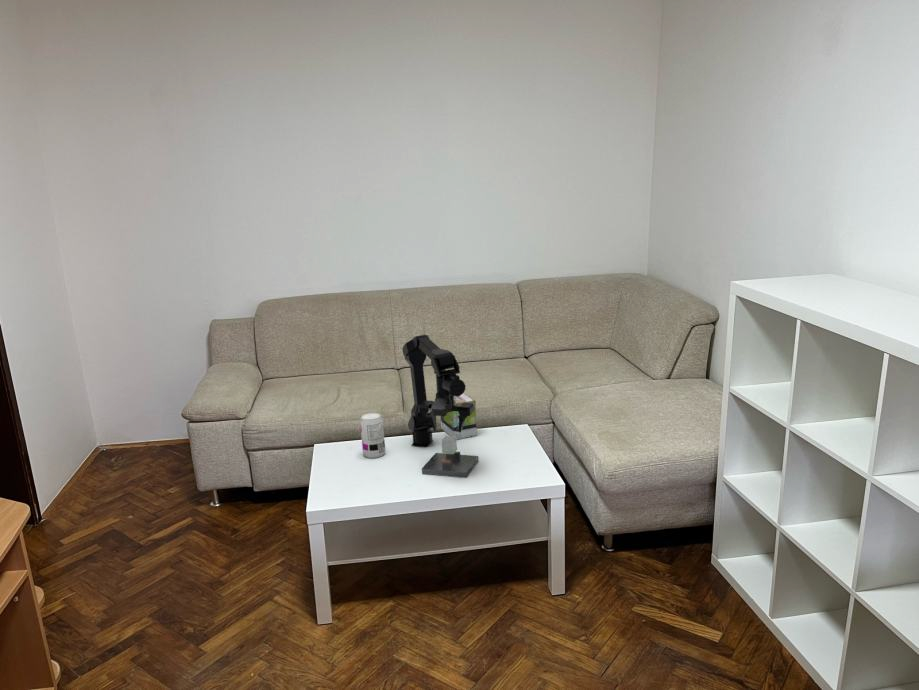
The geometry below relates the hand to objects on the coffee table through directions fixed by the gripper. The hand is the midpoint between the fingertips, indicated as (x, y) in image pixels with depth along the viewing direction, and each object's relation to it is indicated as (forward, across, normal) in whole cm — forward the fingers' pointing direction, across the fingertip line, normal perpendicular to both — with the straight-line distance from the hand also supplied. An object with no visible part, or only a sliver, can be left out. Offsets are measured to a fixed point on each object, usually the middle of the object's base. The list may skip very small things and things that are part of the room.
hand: (447, 431), depth 249 cm
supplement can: (+13, -31, +4) cm, 34 cm away
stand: (+13, +1, -2) cm, 13 cm away
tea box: (+13, -7, +31) cm, 35 cm away
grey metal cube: (+7, +1, -2) cm, 7 cm away
